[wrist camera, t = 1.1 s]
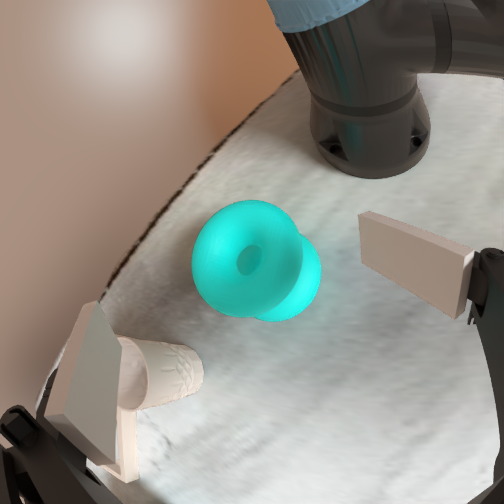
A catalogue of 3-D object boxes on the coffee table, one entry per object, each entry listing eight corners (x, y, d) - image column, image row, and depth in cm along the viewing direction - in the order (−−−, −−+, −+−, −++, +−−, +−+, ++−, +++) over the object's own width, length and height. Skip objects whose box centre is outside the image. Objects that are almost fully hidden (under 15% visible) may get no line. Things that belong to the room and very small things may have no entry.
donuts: (173, 300, 24) (202, 193, 26) (229, 311, 33) (249, 229, 34) (280, 329, 19) (307, 196, 21) (312, 330, 28) (331, 237, 30)
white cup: (215, 396, 30) (156, 411, 22) (167, 402, 33) (108, 412, 24) (200, 334, 33) (140, 329, 25) (155, 346, 36) (96, 343, 27)
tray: (94, 328, 43) (80, 326, 40) (138, 339, 38) (123, 338, 35) (95, 450, 36) (83, 452, 34) (139, 478, 31) (125, 483, 29)
